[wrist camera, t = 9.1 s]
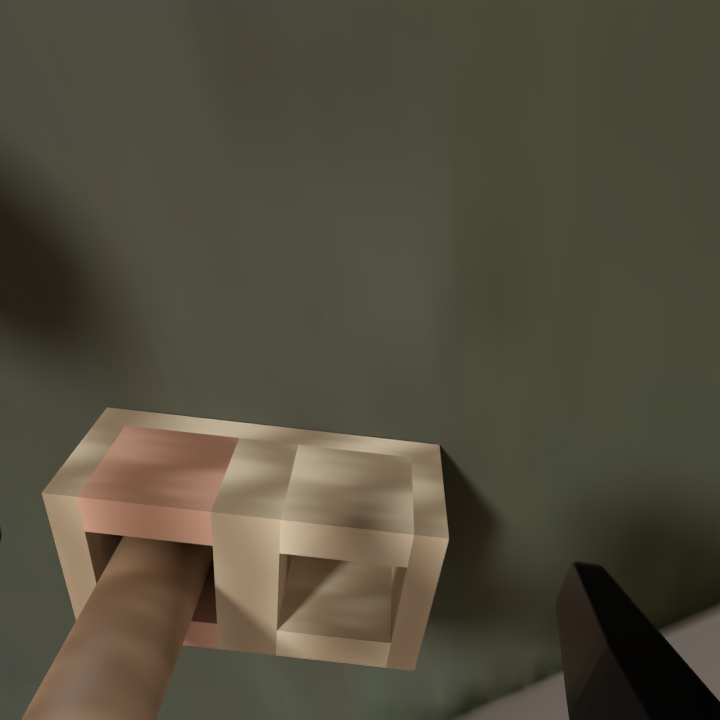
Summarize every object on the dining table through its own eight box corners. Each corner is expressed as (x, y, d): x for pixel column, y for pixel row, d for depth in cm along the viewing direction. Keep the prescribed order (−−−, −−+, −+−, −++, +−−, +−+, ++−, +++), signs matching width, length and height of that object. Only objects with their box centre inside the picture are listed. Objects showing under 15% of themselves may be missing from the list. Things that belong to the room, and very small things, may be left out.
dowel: (229, 476, 24) (129, 731, 15) (231, 536, 25) (143, 794, 17) (144, 467, 24) (-3, 715, 15) (152, 527, 25) (25, 780, 17)
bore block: (439, 444, 23) (449, 538, 19) (411, 570, 27) (414, 670, 23) (106, 407, 23) (41, 493, 19) (129, 538, 27) (79, 633, 23)
